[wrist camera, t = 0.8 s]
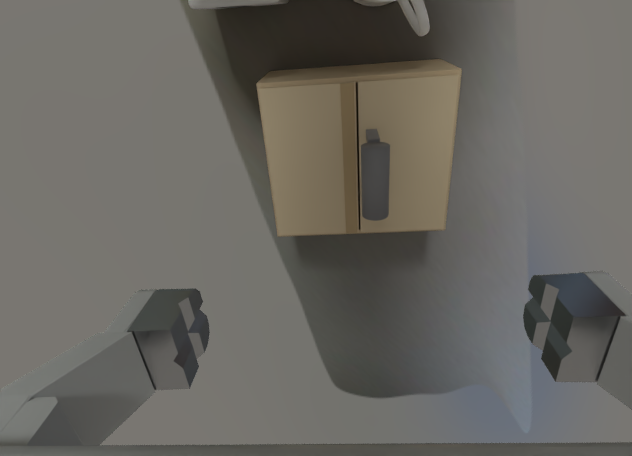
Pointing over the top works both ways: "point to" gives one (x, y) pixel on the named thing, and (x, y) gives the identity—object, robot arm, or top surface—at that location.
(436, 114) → the near flap
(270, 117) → the carton
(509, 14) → the top surface
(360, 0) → the mug
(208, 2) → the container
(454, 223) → the top surface
